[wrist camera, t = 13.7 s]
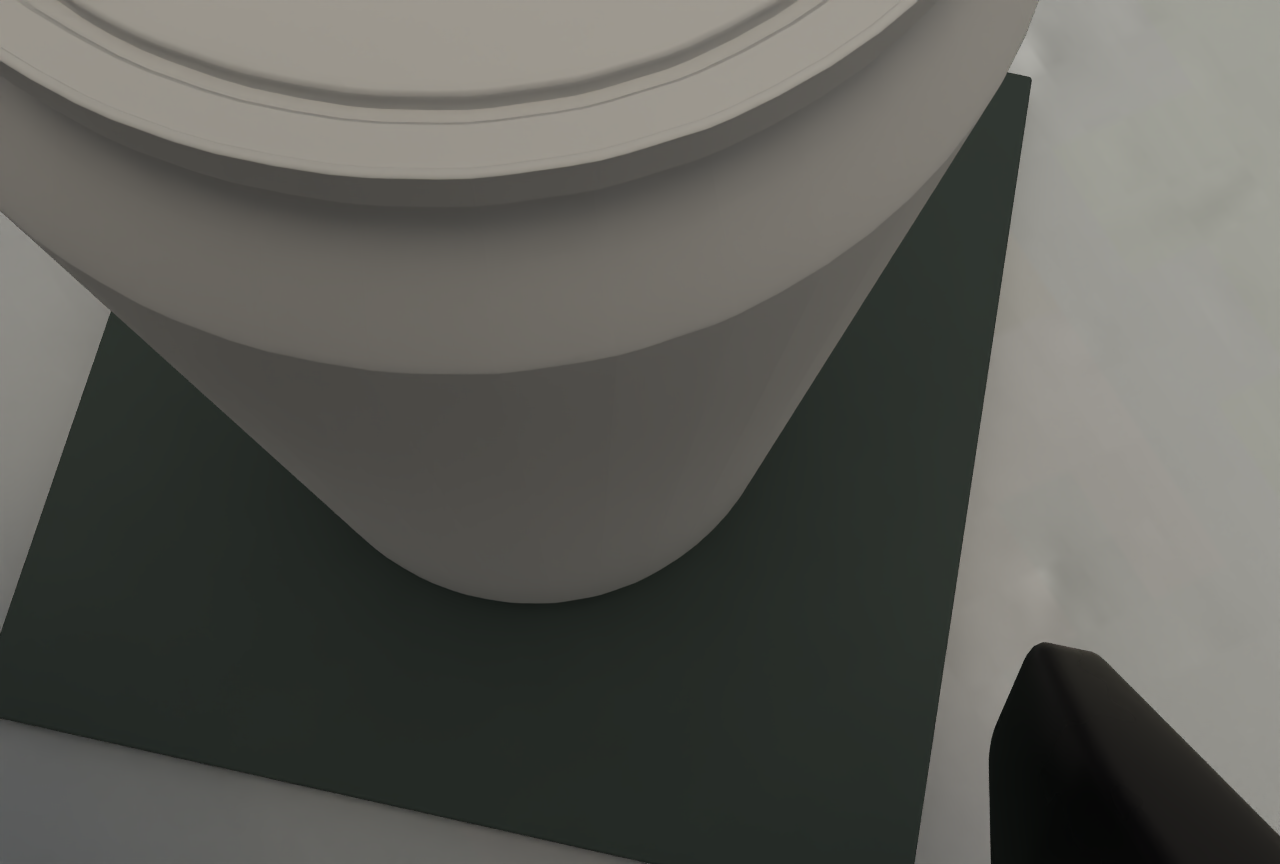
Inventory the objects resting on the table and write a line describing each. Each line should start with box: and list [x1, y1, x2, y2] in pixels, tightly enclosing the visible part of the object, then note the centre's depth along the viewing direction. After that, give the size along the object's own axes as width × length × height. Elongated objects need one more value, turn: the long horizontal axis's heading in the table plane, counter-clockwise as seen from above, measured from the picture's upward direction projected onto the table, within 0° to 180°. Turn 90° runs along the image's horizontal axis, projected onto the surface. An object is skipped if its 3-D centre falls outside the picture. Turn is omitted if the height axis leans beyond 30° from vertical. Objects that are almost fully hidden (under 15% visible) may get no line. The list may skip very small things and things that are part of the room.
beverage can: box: [0, 0, 1039, 603], centre depth 11 cm, size 6×6×12 cm
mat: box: [0, 72, 1032, 864], centre depth 17 cm, size 12×12×1 cm
